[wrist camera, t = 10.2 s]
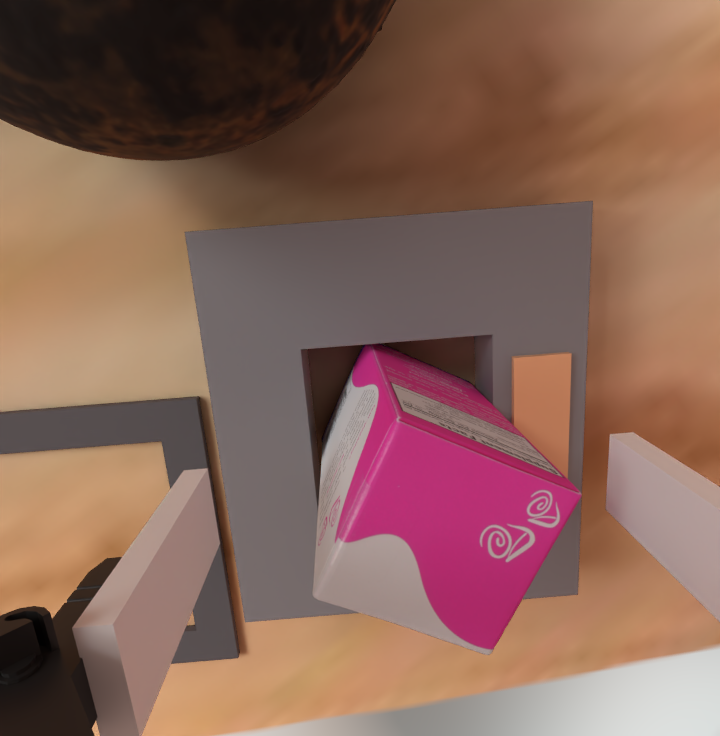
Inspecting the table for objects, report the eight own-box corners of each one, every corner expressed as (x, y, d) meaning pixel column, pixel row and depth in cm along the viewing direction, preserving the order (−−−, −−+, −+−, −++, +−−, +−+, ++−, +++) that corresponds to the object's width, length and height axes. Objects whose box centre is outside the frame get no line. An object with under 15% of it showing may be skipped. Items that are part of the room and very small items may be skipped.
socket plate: (206, 234, 22) (181, 231, 18) (560, 207, 22) (596, 200, 19) (256, 580, 26) (243, 626, 23) (551, 556, 26) (580, 599, 23)
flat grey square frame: (-112, 420, 23) (-120, 423, 23) (198, 396, 23) (196, 398, 23) (-29, 674, 27) (-35, 680, 26) (239, 652, 27) (238, 658, 27)
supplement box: (425, 481, 25) (489, 668, 14) (319, 439, 24) (296, 599, 13) (476, 381, 24) (592, 497, 13) (366, 334, 23) (384, 412, 12)
